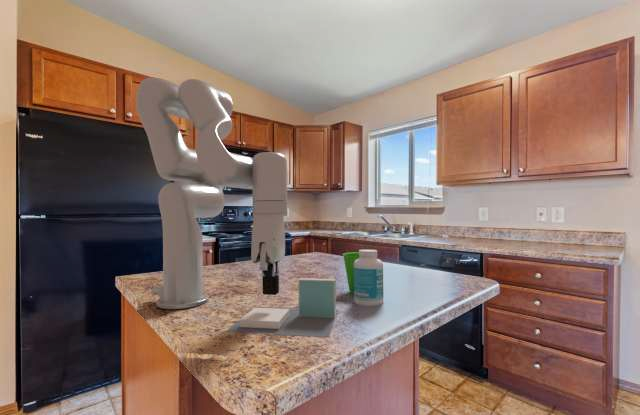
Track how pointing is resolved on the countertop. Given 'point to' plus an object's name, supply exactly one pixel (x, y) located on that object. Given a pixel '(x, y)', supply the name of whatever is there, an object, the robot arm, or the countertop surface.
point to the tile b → (317, 297)
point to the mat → (293, 326)
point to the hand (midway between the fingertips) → (270, 293)
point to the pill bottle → (368, 279)
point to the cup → (350, 268)
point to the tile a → (265, 318)
